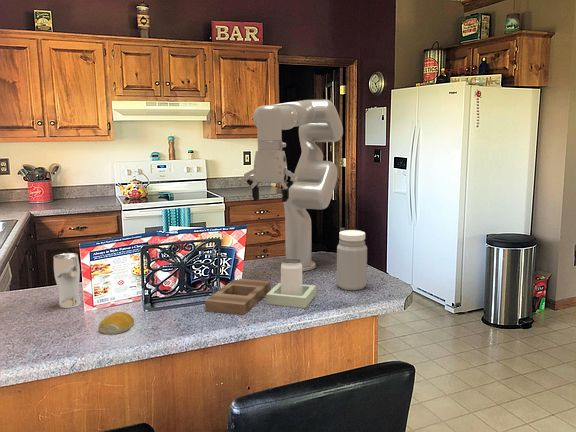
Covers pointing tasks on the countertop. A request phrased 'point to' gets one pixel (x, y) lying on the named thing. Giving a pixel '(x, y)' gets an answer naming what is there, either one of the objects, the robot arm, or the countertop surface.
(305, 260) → the robot arm
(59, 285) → the beer glass
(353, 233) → the jar
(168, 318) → the countertop surface
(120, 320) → the bread roll
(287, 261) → the can
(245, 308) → the walnut holder
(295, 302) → the sage holder
